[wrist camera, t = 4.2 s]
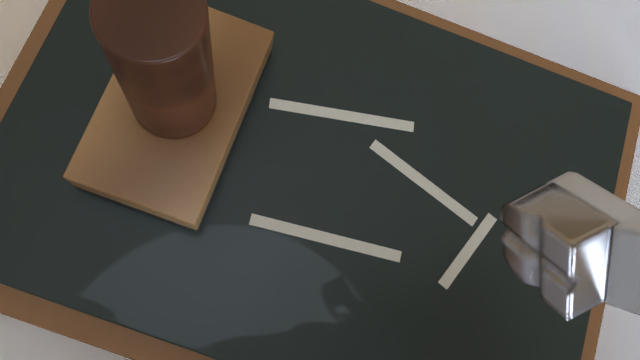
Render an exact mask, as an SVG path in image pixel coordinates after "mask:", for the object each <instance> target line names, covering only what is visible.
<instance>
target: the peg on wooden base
mask: <svg viewBox="0 0 640 360" xmlns="http://www.w3.org/2000/svg"><path fill="white" fill-rule="evenodd" d="M89 19H90V24H91V27H92V30H93V33H94V35H95V37H96V39H97V41H98V43H99V45H100V47H101V49H102V51H103V53H104V55H105V57H106V59H107V61H108V63H109V65H110V67H111V69H112V71H113V75H112V77H111V79H110V81H109V83H108V85H107V87H106V89H105V91H104V93H103V95H102V97H101V99H100V101H99V103H98V105H97V107H96V110H95V112H94V114H93V116H92V118H91V120H90V122H89V124H88V126H87V128H86V130H85V132H84V134H83V136H82V138H81V140H80V142H79V144H78V146H77V148H76V150H75V152H74V154H73V156H72V158H71V160H70V162H69V164H68V167H67V169H66V171H65V173H64V175H63V178H64V179H66V180H67V181H68V182H69V183H70V184H72V185H73V186H74V187H75V188H76V189H78V190H81V191H83V192H86V193H89V194H92V195H95V196H97V197H100V198H103V199H106V200H108V201H111V202H114V203H117V204H119V205H122V206H125V207H128V208H130V209H133V210H136V211H139V212H141V213H144V214H147V215H150V216H152V217H155V218H158V219H161V220H163V221H166V222H169V223H172V224H174V225H177V226H180V227H183V228H185V229H188V230H191V231H194V232H199V230H200V228H201V225H202V223H203V220H204V218H205V215H206V213H207V210H208V208H209V206H210V203H211V201H212V198H213V196H214V193H215V191H216V188H217V186H218V183H219V181H220V179H221V176H222V174H223V171H224V169H225V166H226V164H227V161H228V159H229V157H230V154H231V152H232V149H233V147H234V144H235V142H236V139H237V137H238V134H239V132H240V130H241V127H242V125H243V122H244V120H245V117H246V115H247V112H248V110H249V108H250V105H251V103H252V100H253V98H254V95H255V93H256V90H257V88H258V85H259V83H260V81H261V78H262V76H263V73H264V71H265V68H266V66H267V63H268V61H269V59H270V56H271V54H272V47H273V39H274V32H273V31H271V30H268V29H266V28H263V27H260V26H258V25H255V24H252V23H250V22H247V21H245V20H242V19H239V18H237V17H234V16H232V15H229V14H226V13H224V12H221V11H219V10H216V9H213V8H211V7H208V4H207V0H91V2H90V7H89Z"/></svg>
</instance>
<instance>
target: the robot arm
mask: <svg viewBox="0 0 640 360" xmlns="http://www.w3.org/2000/svg"><path fill="white" fill-rule="evenodd" d="M500 222H501V223H502V224H504V225H505V226H506V227H507V228H506V230H505V232H504V234H503V236H502V238H501V246H502V254H503V256H504V258H505V260H506V263H507V265H508V267H509V268H510V269H511V270H512V272H513V273H514V274H515V275H516V276H517V277H518V278H519V279H520V280H521V281H522V282H523V283H525V284H529V285H533V286H537V287H539V288H540V294H541V298H542V299H543V300H544V301H545V302H546V303H547V304H548V305H550V306H551V307H552V308H553V309H554V310H555V311H557V312H558V313H559V314H560V315H561V316H562V317H563V318H565V319H566V320H567V321H569V320H571V319H572V318H574V317H576V316H578V315H580V314H582V313H584V312H586V311H588V310H590V309H591V308H593V307H595V306H597V305H599V304H601V303H603V302H605V301H606V304H608V305H611V306H614V307H617V308H620V309H623V310H626V311H629V312H631V313H634V314H637V315H640V209H638V208H636V207H634V206H633V205H631V204H629V203H628V202H626V201H624V200H622V199H621V198H619V197H617V196H616V195H614V194H612V193H611V192H609V191H607V190H605V189H604V188H602V187H600V186H599V185H597V184H595V183H593V182H592V181H590V180H588V179H587V178H585V177H583V176H582V175H580V174H578V173H575V172H569V171H568V172H566V173H564V174H562V175H560V176H559V177H557V178H555V179H553V180H551V181H549V182H547V183H546V184H542V185H540V186H538V187H536V188H534V189H532V190H530V191H529V192H527V193H525V194H523V195H521V196H519V197H517V198H515V199H513V200H511V201H509V202H507V203H505V204H503V205H502V208H501V210H500Z"/></svg>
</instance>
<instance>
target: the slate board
mask: <svg viewBox="0 0 640 360" xmlns="http://www.w3.org/2000/svg"><path fill="white" fill-rule="evenodd" d="M90 2H91V0H49V1H48V3H47V5H46V7H45V9H44V10H43V12H42V14H41V16H40V18H39V20H38V21H37V23H36V25H35V27H34V29H33V31H32V32H31V34H30V36H29V38H28V40H27V41H26V43H25V45H24V47H23V49H22V51H21V52H20V54H19V56H18V58H17V60H16V61H15V63H14V65H13V67H12V69H11V71H10V72H9V74H8V76H7V78H6V80H5V82H4V83H3V85H2V87H1V89H0V313H1V314H4V315H7V316H10V317H13V318H16V319H19V320H21V321H24V322H27V323H30V324H33V325H36V326H39V327H41V328H44V329H47V330H50V331H53V332H56V333H59V334H61V335H64V336H67V337H70V338H73V339H76V340H79V341H81V342H84V343H87V344H90V345H93V346H96V347H99V348H102V349H104V350H107V351H110V352H113V353H116V354H119V355H122V356H124V357H127V358H130V359H133V360H594V357H595V352H596V347H597V342H598V337H599V332H600V327H601V322H602V316H603V311H604V306H605V302H603V303H601V304H599V305H597V306H595V307H593V308H591V309H590V310H588V311H586V312H584V313H582V314H580V315H578V316H576V317H574V318H572V319H571V320H569V321H567V320H566V319H565V318H563V317H562V316H561V315H560V314H559V313H558V312H557V311H555V310H554V309H553V308H552V307H551V306H550V305H548V304H547V303H546V302H545V301H544V300H543V299H542V298H541V294H540V288H539V287H537V286H533V285H529V284H525V283H523V282H522V281H521V280H520V279H519V278H518V277H517V276H516V275H515V274H514V273H513V272H512V270H511V269H510V268H509V267H508V265H507V263H506V260H505V258H504V256H503V254H502V246H501V238H502V236H503V234H504V232H505V230H506V228H507V227H506V226H505V225H504V224H502V223H501V222H500V210H501V208H502V205H503V204H505V203H507V202H509V201H511V200H513V199H515V198H517V197H519V196H521V195H523V194H525V193H527V192H529V191H530V190H532V189H534V188H536V187H538V186H540V185H542V184H546V183H547V182H549V181H551V180H553V179H555V178H557V177H559V176H560V175H562V174H564V173H566V172H568V171H569V172H575V173H578V174H580V175H582V176H583V177H585V178H587V179H588V180H590V181H592V182H593V183H595V184H597V185H599V186H600V187H602V188H604V189H605V190H607V191H609V192H611V193H612V194H614V195H616V196H617V197H619V198H621V199H622V200H624V201H625V198H626V193H627V188H628V183H629V178H630V173H631V168H632V163H633V157H634V152H635V147H636V142H637V137H638V132H639V127H640V96H639V95H637V94H634V93H632V92H629V91H626V90H624V89H621V88H619V87H616V86H614V85H611V84H608V83H606V82H603V81H601V80H598V79H596V78H593V77H591V76H588V75H585V74H583V73H580V72H578V71H575V70H573V69H570V68H567V67H565V66H562V65H560V64H557V63H555V62H552V61H550V60H547V59H544V58H542V57H539V56H537V55H534V54H532V53H529V52H527V51H524V50H521V49H519V48H516V47H514V46H511V45H509V44H506V43H503V42H501V41H498V40H496V39H493V38H491V37H488V36H486V35H483V34H480V33H478V32H475V31H473V30H470V29H468V28H465V27H462V26H460V25H457V24H455V23H452V22H450V21H447V20H445V19H442V18H439V17H437V16H434V15H432V14H429V13H427V12H424V11H421V10H419V9H416V8H414V7H411V6H409V5H406V4H404V3H401V2H398V1H396V0H207V4H208V7H211V8H213V9H216V10H219V11H221V12H224V13H226V14H229V15H232V16H234V17H237V18H239V19H242V20H245V21H247V22H250V23H252V24H255V25H258V26H260V27H263V28H266V29H268V30H271V31H273V32H274V39H273V47H272V54H271V56H270V59H269V61H268V63H267V66H266V68H265V71H264V73H263V76H262V78H261V81H260V83H259V85H258V88H257V90H256V93H255V95H254V98H253V100H252V103H251V105H250V108H249V110H248V112H247V115H246V117H245V120H244V122H243V125H242V127H241V130H240V132H239V134H238V137H237V139H236V142H235V144H234V147H233V149H232V152H231V154H230V157H229V159H228V161H227V164H226V166H225V169H224V171H223V174H222V176H221V179H220V181H219V183H218V186H217V188H216V191H215V193H214V196H213V198H212V201H211V203H210V206H209V208H208V210H207V213H206V215H205V218H204V220H203V223H202V225H201V228H200V230H199V232H194V231H191V230H188V229H185V228H183V227H180V226H177V225H174V224H172V223H169V222H166V221H163V220H161V219H158V218H155V217H152V216H150V215H147V214H144V213H141V212H139V211H136V210H133V209H130V208H128V207H125V206H122V205H119V204H117V203H114V202H111V201H108V200H106V199H103V198H100V197H97V196H95V195H92V194H89V193H86V192H83V191H81V190H78V189H76V188H75V187H74V186H73V185H72V184H70V183H69V182H68V181H67V180H66V179H64V178H63V175H64V173H65V171H66V169H67V167H68V164H69V162H70V160H71V158H72V156H73V154H74V152H75V150H76V148H77V146H78V144H79V142H80V140H81V138H82V136H83V134H84V132H85V130H86V128H87V126H88V124H89V122H90V120H91V118H92V116H93V114H94V112H95V110H96V107H97V105H98V103H99V101H100V99H101V97H102V95H103V93H104V91H105V89H106V87H107V85H108V83H109V81H110V79H111V77H112V75H113V71H112V69H111V67H110V65H109V63H108V61H107V59H106V57H105V55H104V53H103V51H102V49H101V47H100V45H99V43H98V41H97V39H96V37H95V35H94V33H93V30H92V27H91V24H90V19H89V7H90Z"/></svg>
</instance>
